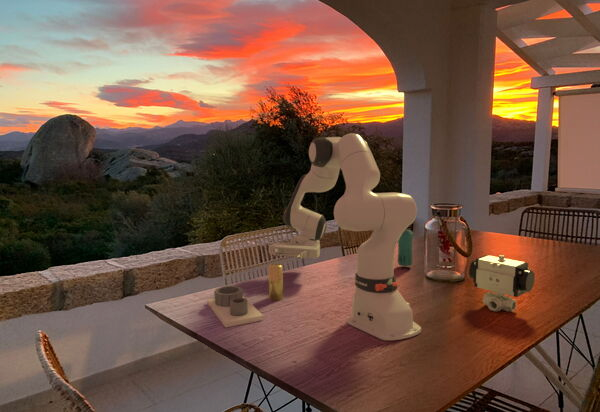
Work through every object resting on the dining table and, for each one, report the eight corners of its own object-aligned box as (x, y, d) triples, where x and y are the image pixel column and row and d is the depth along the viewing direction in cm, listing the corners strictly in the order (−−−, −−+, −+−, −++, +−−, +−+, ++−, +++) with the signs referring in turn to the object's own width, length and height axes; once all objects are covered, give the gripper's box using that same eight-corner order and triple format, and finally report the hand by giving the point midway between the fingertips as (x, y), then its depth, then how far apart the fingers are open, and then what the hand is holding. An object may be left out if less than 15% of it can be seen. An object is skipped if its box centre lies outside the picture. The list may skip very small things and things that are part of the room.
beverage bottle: (412, 265, 188) (413, 221, 185) (412, 270, 181) (413, 224, 179) (397, 265, 189) (398, 221, 187) (397, 269, 183) (397, 223, 180)
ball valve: (465, 304, 141) (467, 253, 139) (477, 298, 146) (480, 248, 144) (521, 321, 127) (524, 263, 125) (532, 313, 133) (536, 258, 130)
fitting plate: (263, 320, 130) (262, 302, 130) (225, 327, 125) (224, 309, 125) (241, 297, 150) (240, 282, 149) (207, 303, 145) (206, 287, 144)
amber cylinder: (285, 299, 148) (284, 266, 147) (272, 301, 146) (271, 268, 145) (279, 294, 153) (279, 262, 151) (267, 297, 151) (266, 264, 149)
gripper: (276, 237, 175) (262, 244, 162) (323, 240, 169) (312, 249, 156) (276, 252, 176) (262, 260, 163) (323, 256, 170) (312, 265, 157)
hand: (287, 255), depth 159 cm, fingers open, 8 cm apart
